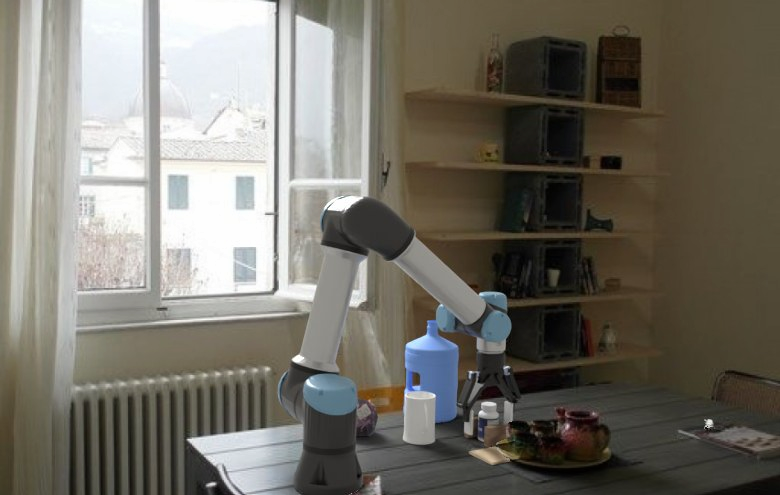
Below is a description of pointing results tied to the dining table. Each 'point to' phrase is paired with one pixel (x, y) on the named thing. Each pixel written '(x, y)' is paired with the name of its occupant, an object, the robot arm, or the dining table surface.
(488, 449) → the cork pad
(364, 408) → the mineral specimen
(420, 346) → the water jug
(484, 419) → the pill bottle
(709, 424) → the power adapter
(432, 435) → the mug
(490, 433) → the blocks
